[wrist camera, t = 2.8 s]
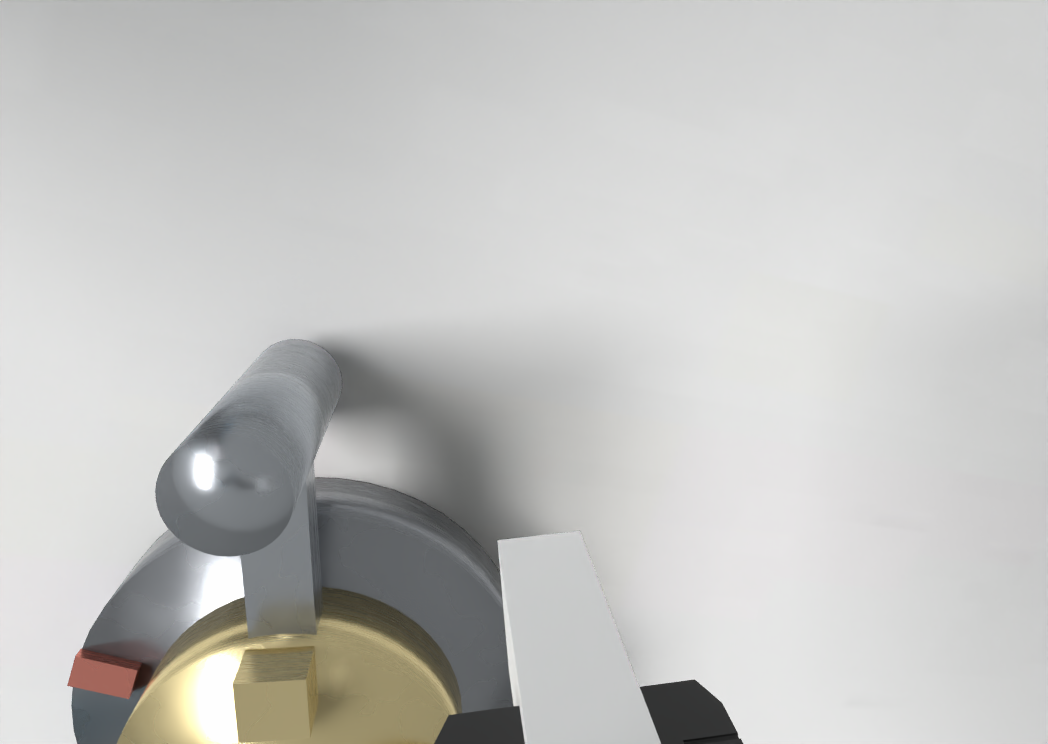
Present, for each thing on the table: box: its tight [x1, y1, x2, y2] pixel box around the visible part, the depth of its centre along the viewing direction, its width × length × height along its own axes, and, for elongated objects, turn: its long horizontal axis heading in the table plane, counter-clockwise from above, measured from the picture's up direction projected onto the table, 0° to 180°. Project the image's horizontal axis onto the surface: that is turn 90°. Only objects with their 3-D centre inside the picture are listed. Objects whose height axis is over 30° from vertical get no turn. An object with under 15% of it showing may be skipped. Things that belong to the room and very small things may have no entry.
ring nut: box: [117, 339, 462, 744], centre depth 23 cm, size 19×11×9 cm, turn 179°
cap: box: [67, 478, 514, 744], centre depth 28 cm, size 16×16×3 cm
